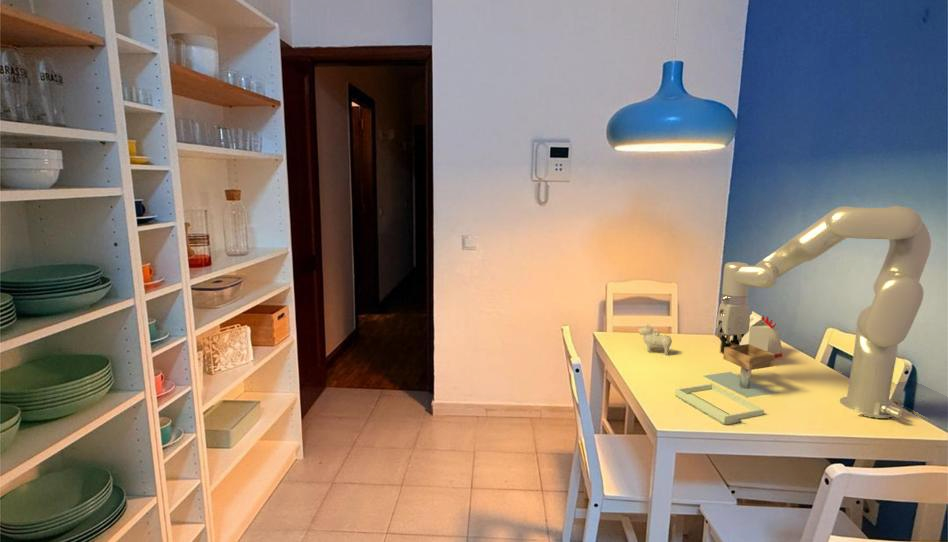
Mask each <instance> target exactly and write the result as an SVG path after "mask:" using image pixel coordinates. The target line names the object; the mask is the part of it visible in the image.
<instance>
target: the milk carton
mask: <svg viewBox="0 0 948 542" xmlns="http://www.w3.org/2000/svg"><path fill="white" fill-rule="evenodd" d="M762 317H763V315H760V314H758V313H756V312H755V311H751V313H750V328H749V332H748V333H747V334H745V335H744V336H743V337H742V340H741V342H740V344H739V345H745V344H749V345H752V346H754V347H757V348H759V349H762V350H765V351H767V352H768V343H769V335H770V327H769V326H768V325H767V324H766V323H765V322H764V321H765V320H764V321H763V320H762Z"/></svg>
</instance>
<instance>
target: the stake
mask: <svg viewBox="0 0 948 542" xmlns="http://www.w3.org/2000/svg"><path fill="white" fill-rule="evenodd" d="M739 376H740V382H739V387H741V388H744V389H749V388H750V381H751V376H752V370H747V369H745V368H743V367H740V374H739Z"/></svg>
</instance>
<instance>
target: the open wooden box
mask: <svg viewBox="0 0 948 542" xmlns="http://www.w3.org/2000/svg"><path fill="white" fill-rule="evenodd" d="M729 343H730V344H731V347H724V353H721V346H722V341H720V344H719V345H720V346H719V353H720V354H721V355H723V358H722V359H723V360H725V361H727V362H730V363H731V364H733V365H736V366H738V367H740V368H741V367H743V368H745V369H747V370H753V371H754V370H760V369H767V368H770V367H771V368H773V367H774V364H775V358H774V357H775V354H772V353H770V352H767V351H765V350H762V349H759V348H757V347H754V346H752V345H749V344H745V345H738V344H735V343H733V342H729Z"/></svg>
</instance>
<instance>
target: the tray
mask: <svg viewBox="0 0 948 542" xmlns="http://www.w3.org/2000/svg"><path fill="white" fill-rule="evenodd" d="M706 390H707V391H708V390H713V391H715V392H716V393H719V394H720V395H722V396H724V397H726V398H728V399H730V400H732V401H734V402H736V403H738V404H740V405H741V406H744V407H746V408H748V409H749V410H747V411H741V412H736V413H735V412H734V413H731V414H730V413H728V412H726V411H724V410H723V409H721V408H719V407H717V406H715V405H714V404H713V403H710V402H709V401H706V400H705V399H702V398H701V397H699V396H697V395H696V394H694V392H695V393H696V392H700V391H701V392H702V391H706ZM675 396H676V397H675V398H677V397H678V398H677V399H679V400H680V399H681V400H680V401H682V402H684V403H685V402H686V404H687V405H689V406H691V407H692V408H694V409H696V410H698V411H699V412H701V413H703V414H704V415H706V416H708V417H709V418H711V419H713V420H715V421H717V422H718V423H720V424H721V425H723V426H725V425H726V426H727V425H731V424H732V425H733V424H737V423H742V422H743V420H741V419H747V418H752V417H757V416H758V417H759V416H763V415H764V412H765V408H764V409H763V408H761V407H760V406H758V405H756V404H754V403H752V402H750V401H747V400H746V399H744V398H742V397H740V396H738V395H735V394H734V393H732V392H729V391H728V390H727V389H724V388H722V387H720V386H718V385H715V384H714V383H707V384H699V385H693V386H692V385H691V386H688V387H687V386H686V387H682V388H681V387H680V388H675Z"/></svg>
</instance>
